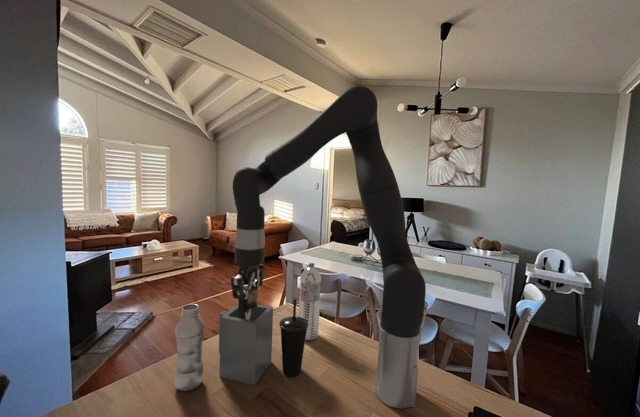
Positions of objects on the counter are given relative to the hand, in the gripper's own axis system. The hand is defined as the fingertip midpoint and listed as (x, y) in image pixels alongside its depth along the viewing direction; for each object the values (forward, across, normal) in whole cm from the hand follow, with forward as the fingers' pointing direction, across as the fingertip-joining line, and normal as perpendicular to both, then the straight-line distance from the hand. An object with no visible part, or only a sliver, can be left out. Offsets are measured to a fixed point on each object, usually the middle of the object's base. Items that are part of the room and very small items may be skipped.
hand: (248, 307), depth 75 cm
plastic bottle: (+17, -10, +10) cm, 22 cm away
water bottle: (+17, +21, -11) cm, 29 cm away
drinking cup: (+17, +3, -12) cm, 21 cm away
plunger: (+16, 0, 0) cm, 16 cm away
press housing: (+17, 0, +2) cm, 17 cm away
